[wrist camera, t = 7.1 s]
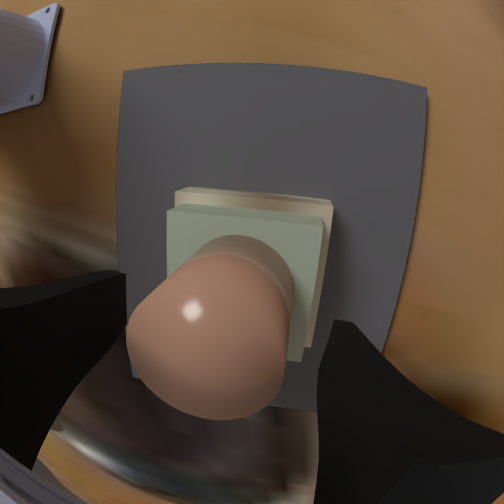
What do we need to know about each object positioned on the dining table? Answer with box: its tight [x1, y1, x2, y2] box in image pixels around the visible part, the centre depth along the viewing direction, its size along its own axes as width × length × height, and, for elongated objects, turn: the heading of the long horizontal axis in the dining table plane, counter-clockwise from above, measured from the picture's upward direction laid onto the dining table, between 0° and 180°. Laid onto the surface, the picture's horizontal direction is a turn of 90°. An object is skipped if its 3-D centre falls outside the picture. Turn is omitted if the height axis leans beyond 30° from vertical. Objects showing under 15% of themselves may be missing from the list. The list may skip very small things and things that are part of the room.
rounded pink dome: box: [126, 235, 294, 420], centre depth 10 cm, size 4×4×5 cm
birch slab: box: [175, 187, 334, 348], centre depth 16 cm, size 7×7×2 cm
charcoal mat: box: [116, 63, 427, 411], centre depth 17 cm, size 16×20×1 cm
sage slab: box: [167, 203, 323, 362], centre depth 14 cm, size 6×6×2 cm
